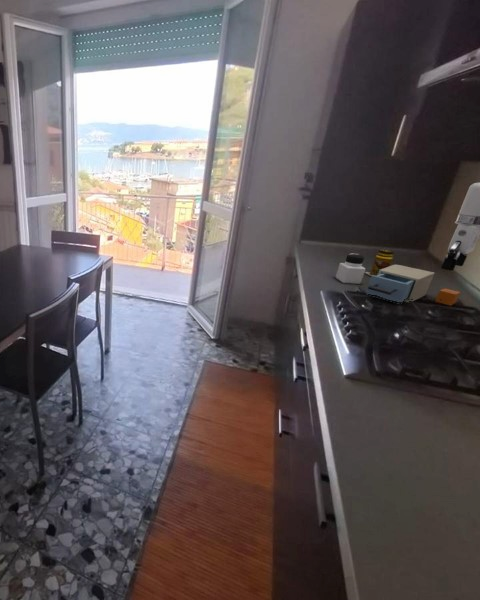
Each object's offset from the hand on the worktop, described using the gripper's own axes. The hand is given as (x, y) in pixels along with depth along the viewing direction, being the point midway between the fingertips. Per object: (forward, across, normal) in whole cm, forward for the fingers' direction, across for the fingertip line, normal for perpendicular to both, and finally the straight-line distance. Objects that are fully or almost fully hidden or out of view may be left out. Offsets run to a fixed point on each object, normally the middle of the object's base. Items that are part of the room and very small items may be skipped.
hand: (451, 267), depth 130 cm
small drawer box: (+14, -1, +12) cm, 18 cm away
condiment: (+14, +18, +26) cm, 35 cm away
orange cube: (+14, +4, -2) cm, 15 cm away
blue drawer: (+13, -12, +12) cm, 22 cm away
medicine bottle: (+14, -2, +30) cm, 33 cm away
